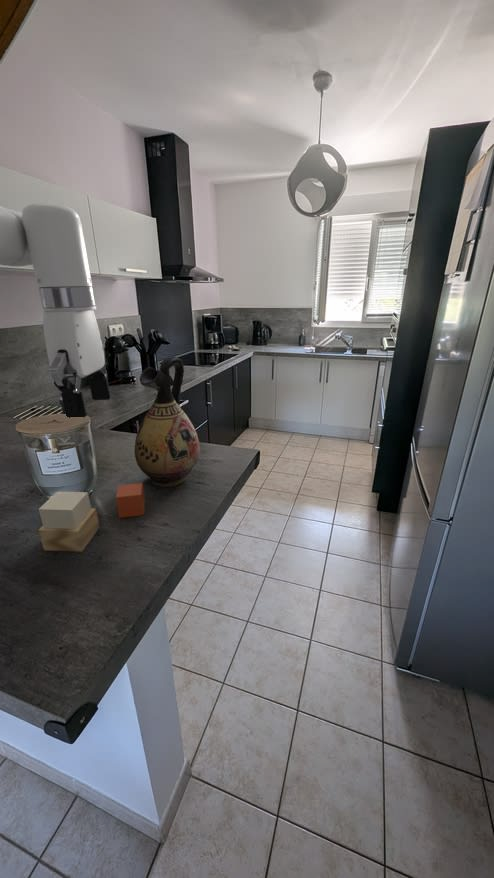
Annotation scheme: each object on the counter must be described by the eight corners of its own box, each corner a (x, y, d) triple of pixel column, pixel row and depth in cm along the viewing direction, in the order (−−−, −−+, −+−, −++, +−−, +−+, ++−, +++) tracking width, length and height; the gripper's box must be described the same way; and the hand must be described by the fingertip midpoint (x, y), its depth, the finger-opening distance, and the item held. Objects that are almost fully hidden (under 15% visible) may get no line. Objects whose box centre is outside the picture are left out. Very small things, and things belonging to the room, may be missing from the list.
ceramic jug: (174, 501, 80) (161, 367, 68) (125, 484, 87) (106, 360, 75) (216, 470, 93) (212, 354, 82) (171, 457, 100) (161, 350, 89)
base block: (43, 550, 65) (38, 530, 63) (64, 526, 71) (60, 507, 70) (82, 551, 64) (77, 531, 63) (99, 527, 71) (95, 508, 69)
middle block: (43, 528, 63) (38, 509, 62) (61, 509, 69) (57, 491, 67) (76, 529, 63) (71, 510, 62) (91, 510, 69) (87, 492, 67)
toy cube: (119, 518, 74) (115, 497, 72) (121, 504, 78) (118, 485, 76) (143, 515, 75) (141, 494, 73) (145, 502, 79) (142, 482, 77)
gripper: (71, 300, 63) (90, 394, 69) (8, 303, 47) (40, 425, 53) (113, 299, 62) (128, 393, 69) (64, 301, 46) (90, 424, 53)
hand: (90, 407), depth 61 cm, fingers open, 9 cm apart
